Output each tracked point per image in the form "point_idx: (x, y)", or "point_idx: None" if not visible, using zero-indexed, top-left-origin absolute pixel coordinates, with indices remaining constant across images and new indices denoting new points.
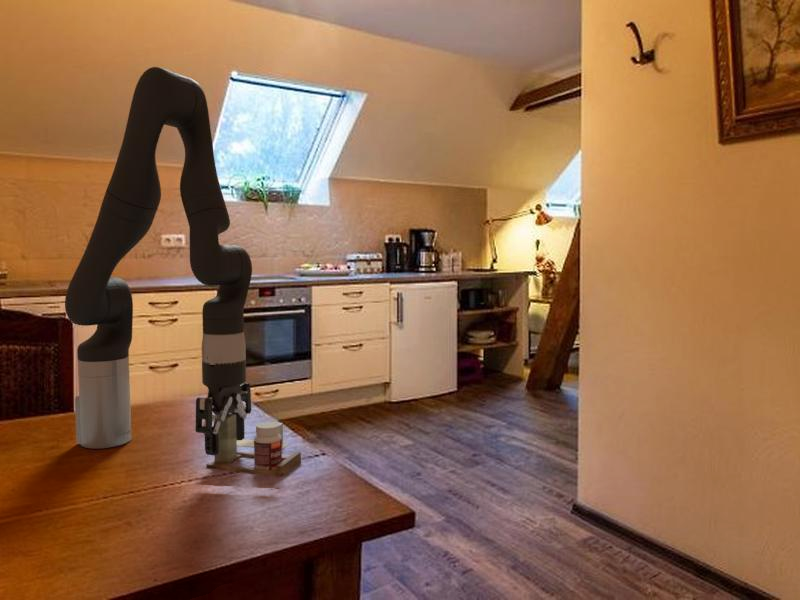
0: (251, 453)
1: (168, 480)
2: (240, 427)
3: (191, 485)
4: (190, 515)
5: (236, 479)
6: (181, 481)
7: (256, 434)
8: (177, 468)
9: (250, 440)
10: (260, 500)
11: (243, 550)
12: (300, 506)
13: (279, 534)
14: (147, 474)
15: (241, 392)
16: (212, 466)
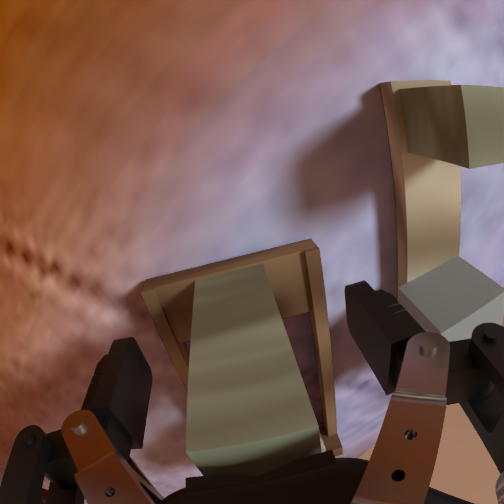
0: (326, 337)
1: (30, 221)
2: (371, 362)
3: (59, 314)
4: (11, 405)
5: (172, 381)
6: (52, 265)
7: (426, 317)
8: (111, 140)
9: (459, 203)
10: (135, 460)
11: (45, 483)
12: (167, 494)
13: None
14: (21, 108)
15: (499, 499)
16: (151, 314)
